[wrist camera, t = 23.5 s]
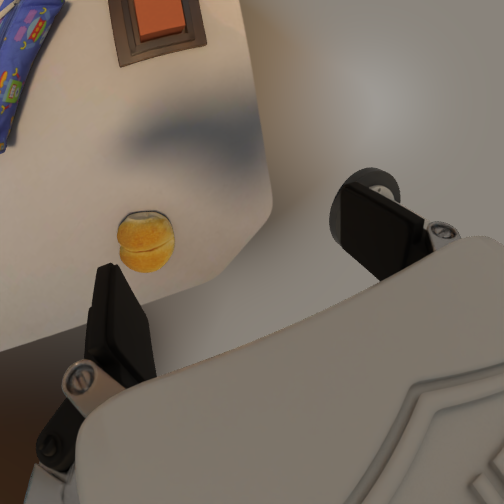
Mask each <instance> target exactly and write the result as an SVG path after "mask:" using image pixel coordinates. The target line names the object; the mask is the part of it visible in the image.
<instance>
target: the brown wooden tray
mask: <svg viewBox="0 0 504 504" xmlns="http://www.w3.org/2000/svg"><path fill="white" fill-rule="evenodd" d="M108 4H109V11H110V17H111V23H112V29H113V35H114V40H115V46H116V51H117V56H118V61H119V66H120V67H124V66H127V65H130V64H133V63H136V62H140V61H143V60H146V59H150V58H153V57H157V56H161V55H165V54H169V53H173V52H177V51H182V50H186V49H191V48H196V47H202V46H206V45H207V40H206V35H205V30H204V25H203V20H202V15H201V10H200V5H199V0H181V4H182V9H183V14H184V20H185V27H184V29H183V30H182V32H181V33H180V34H175V35H170V36H166V37H162V38H158V39H154V40H150V41H147V42H143V43H141V41H140V36H139V31H138V26H137V20H136V14H135V8H134V0H108Z"/></svg>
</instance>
